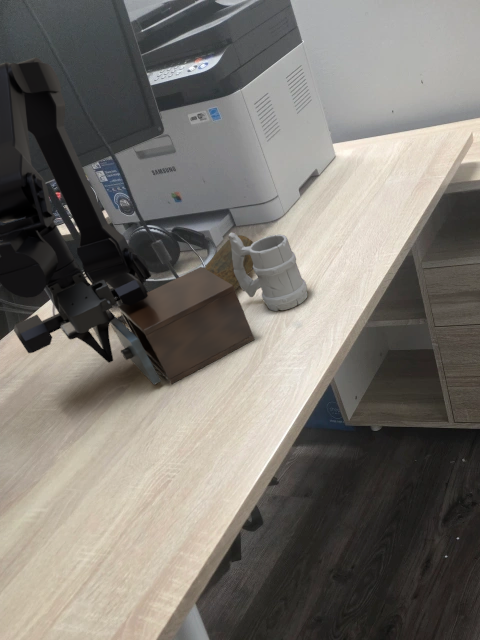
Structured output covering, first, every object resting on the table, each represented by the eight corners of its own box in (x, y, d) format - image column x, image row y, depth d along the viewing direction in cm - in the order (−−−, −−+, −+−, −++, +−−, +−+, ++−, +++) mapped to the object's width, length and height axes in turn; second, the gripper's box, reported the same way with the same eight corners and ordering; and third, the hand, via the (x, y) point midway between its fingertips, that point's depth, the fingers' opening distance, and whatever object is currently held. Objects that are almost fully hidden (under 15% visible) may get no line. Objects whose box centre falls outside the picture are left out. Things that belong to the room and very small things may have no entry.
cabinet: (171, 384, 97) (143, 330, 91) (145, 357, 106) (117, 306, 100) (254, 339, 102) (233, 285, 95) (222, 317, 110) (201, 266, 104)
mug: (299, 310, 105) (274, 238, 97) (237, 314, 110) (208, 245, 102) (316, 287, 110) (294, 216, 102) (256, 292, 115) (230, 224, 107)
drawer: (146, 388, 96) (122, 346, 91) (124, 363, 104) (100, 323, 99) (232, 343, 100) (214, 300, 96) (204, 322, 108) (186, 281, 103)
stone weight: (232, 268, 125) (219, 234, 121) (265, 264, 123) (252, 229, 119) (201, 308, 115) (185, 272, 111) (236, 304, 113) (221, 267, 108)
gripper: (-2, 310, 82) (65, 409, 93) (132, 249, 88) (182, 349, 98) (-14, 289, 90) (49, 382, 100) (110, 234, 95) (157, 328, 106)
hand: (110, 361), depth 101 cm, fingers closed
